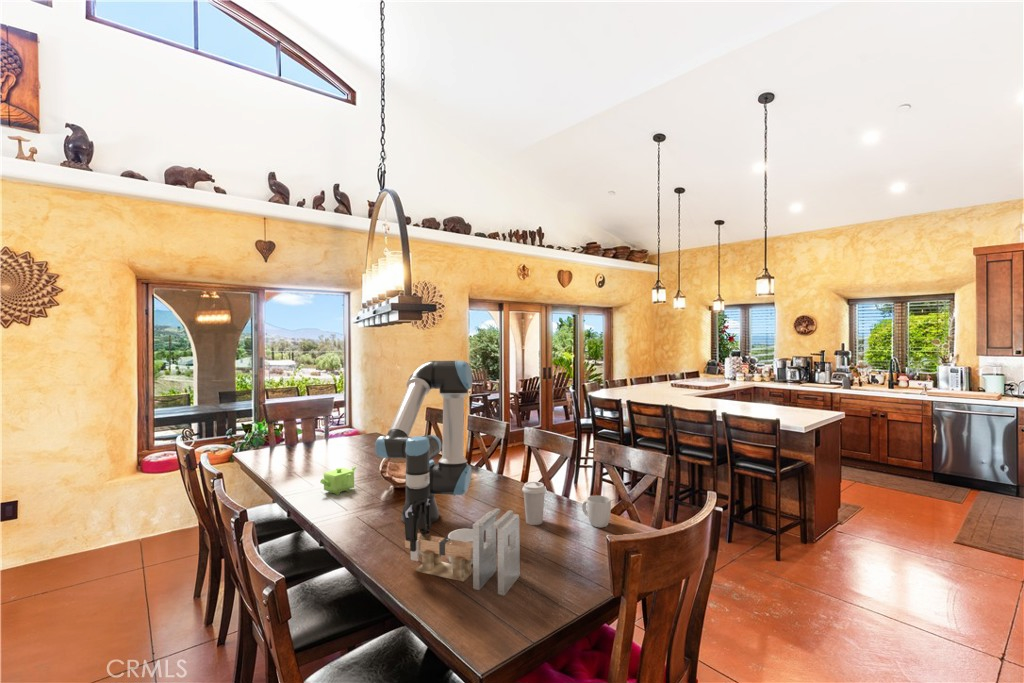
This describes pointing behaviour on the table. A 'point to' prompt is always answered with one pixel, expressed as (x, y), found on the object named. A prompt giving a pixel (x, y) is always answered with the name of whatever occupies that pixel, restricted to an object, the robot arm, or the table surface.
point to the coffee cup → (534, 502)
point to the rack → (445, 567)
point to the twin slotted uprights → (487, 551)
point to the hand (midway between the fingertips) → (418, 556)
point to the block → (444, 546)
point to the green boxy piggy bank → (338, 480)
